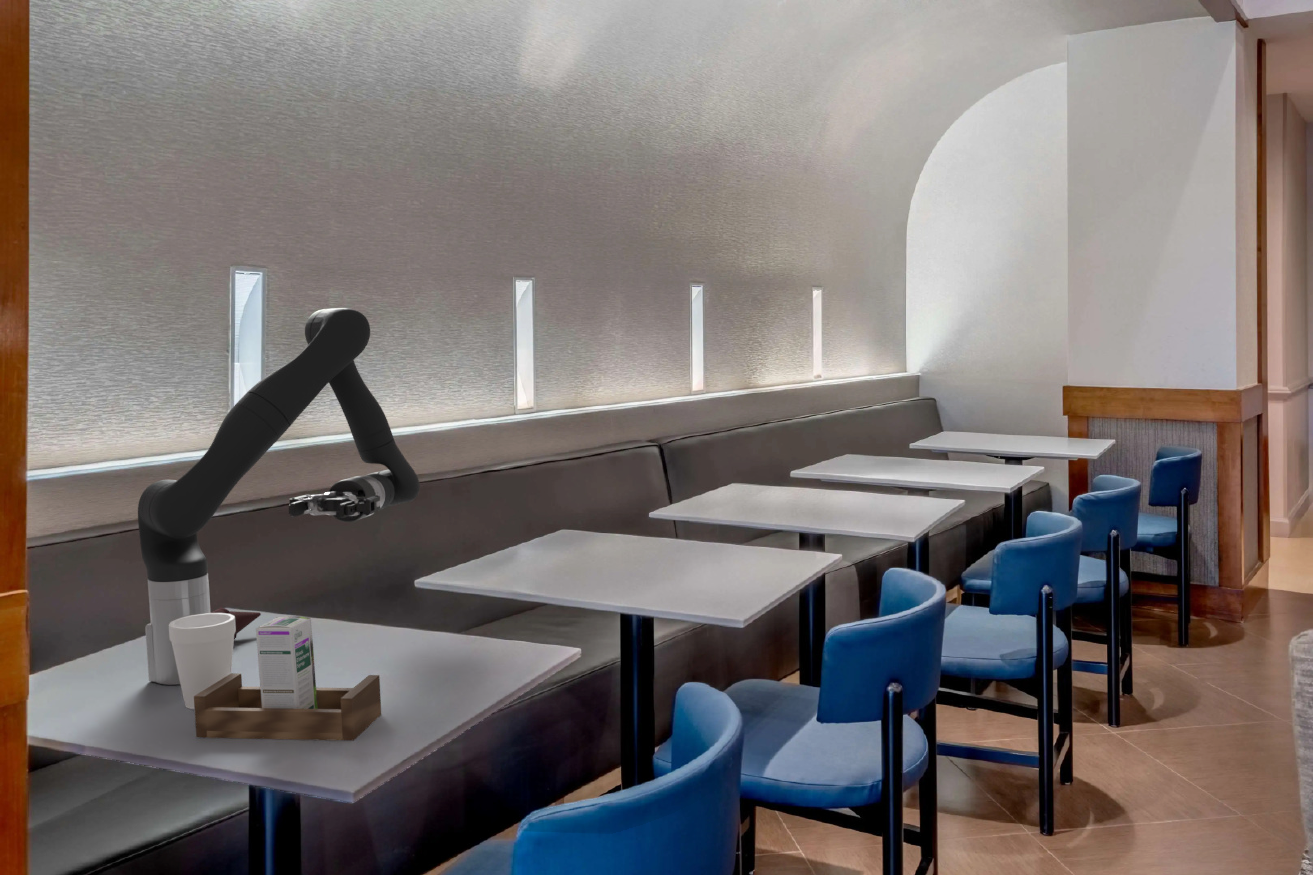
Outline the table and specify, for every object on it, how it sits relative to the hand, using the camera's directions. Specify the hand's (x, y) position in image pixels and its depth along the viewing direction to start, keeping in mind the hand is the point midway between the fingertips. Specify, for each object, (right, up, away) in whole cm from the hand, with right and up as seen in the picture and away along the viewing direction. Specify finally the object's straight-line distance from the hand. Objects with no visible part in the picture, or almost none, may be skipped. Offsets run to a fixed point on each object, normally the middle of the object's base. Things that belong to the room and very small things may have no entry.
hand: (316, 510), depth 174 cm
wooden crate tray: (+2, -30, -19) cm, 36 cm away
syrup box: (+2, -29, -19) cm, 35 cm away
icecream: (-26, -27, +26) cm, 46 cm away
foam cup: (-15, -30, -8) cm, 34 cm away
